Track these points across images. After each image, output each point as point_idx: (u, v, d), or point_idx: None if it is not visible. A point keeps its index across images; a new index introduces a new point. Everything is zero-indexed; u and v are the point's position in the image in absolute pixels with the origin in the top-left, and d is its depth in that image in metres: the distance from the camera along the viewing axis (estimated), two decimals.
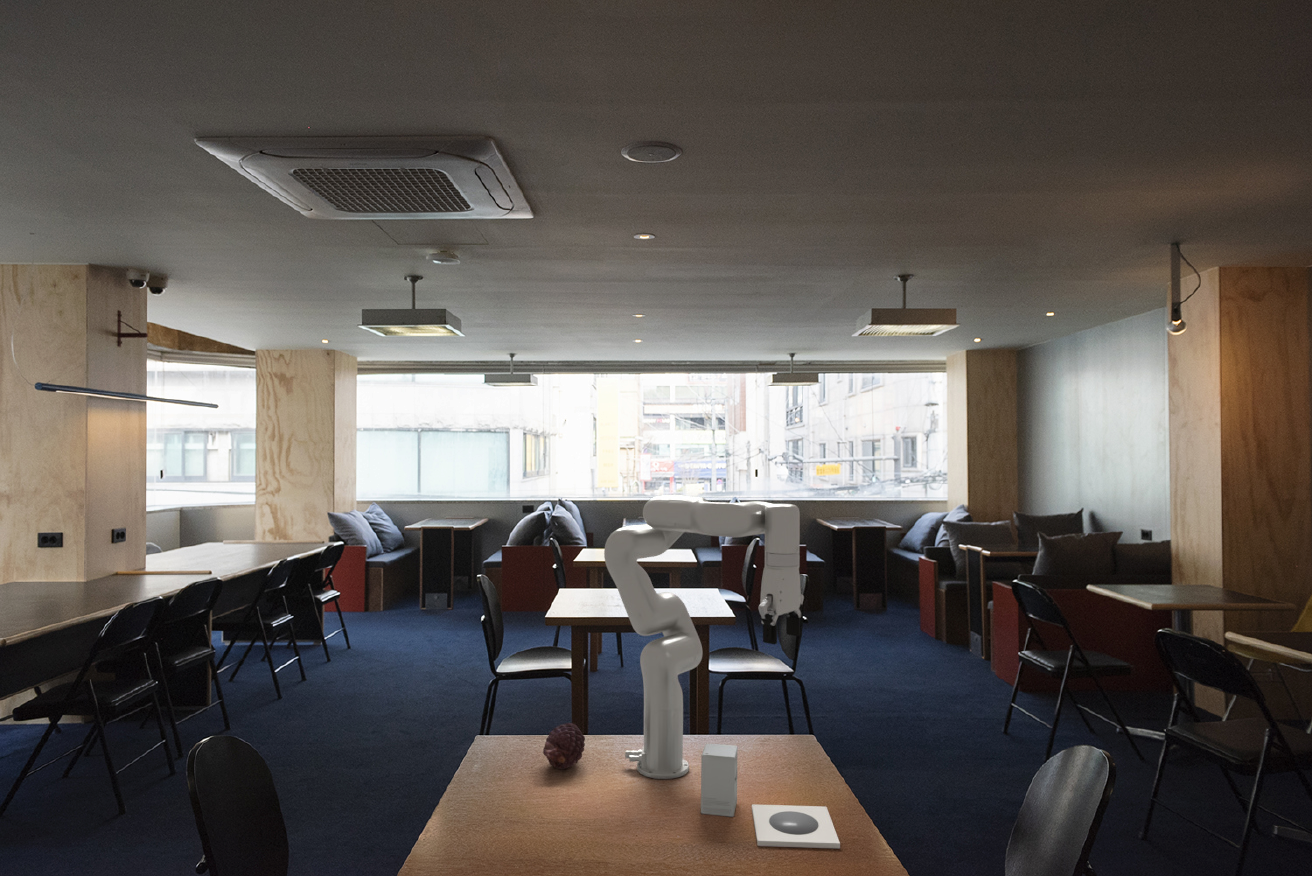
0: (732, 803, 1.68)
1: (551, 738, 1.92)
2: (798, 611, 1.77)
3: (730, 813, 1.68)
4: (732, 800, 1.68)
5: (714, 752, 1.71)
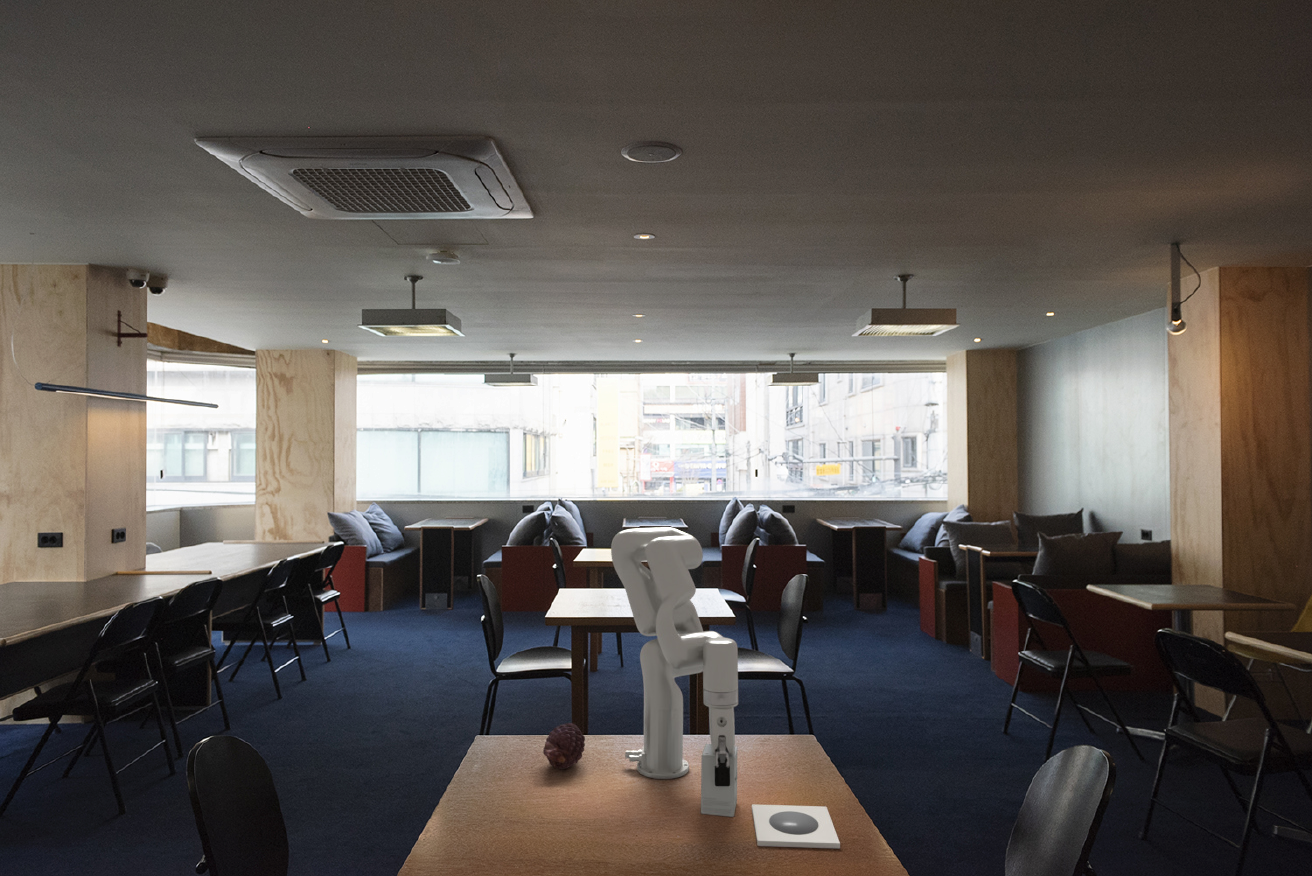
0: (732, 803, 1.68)
1: (551, 738, 1.92)
2: None
3: (730, 813, 1.68)
4: (732, 800, 1.68)
5: None
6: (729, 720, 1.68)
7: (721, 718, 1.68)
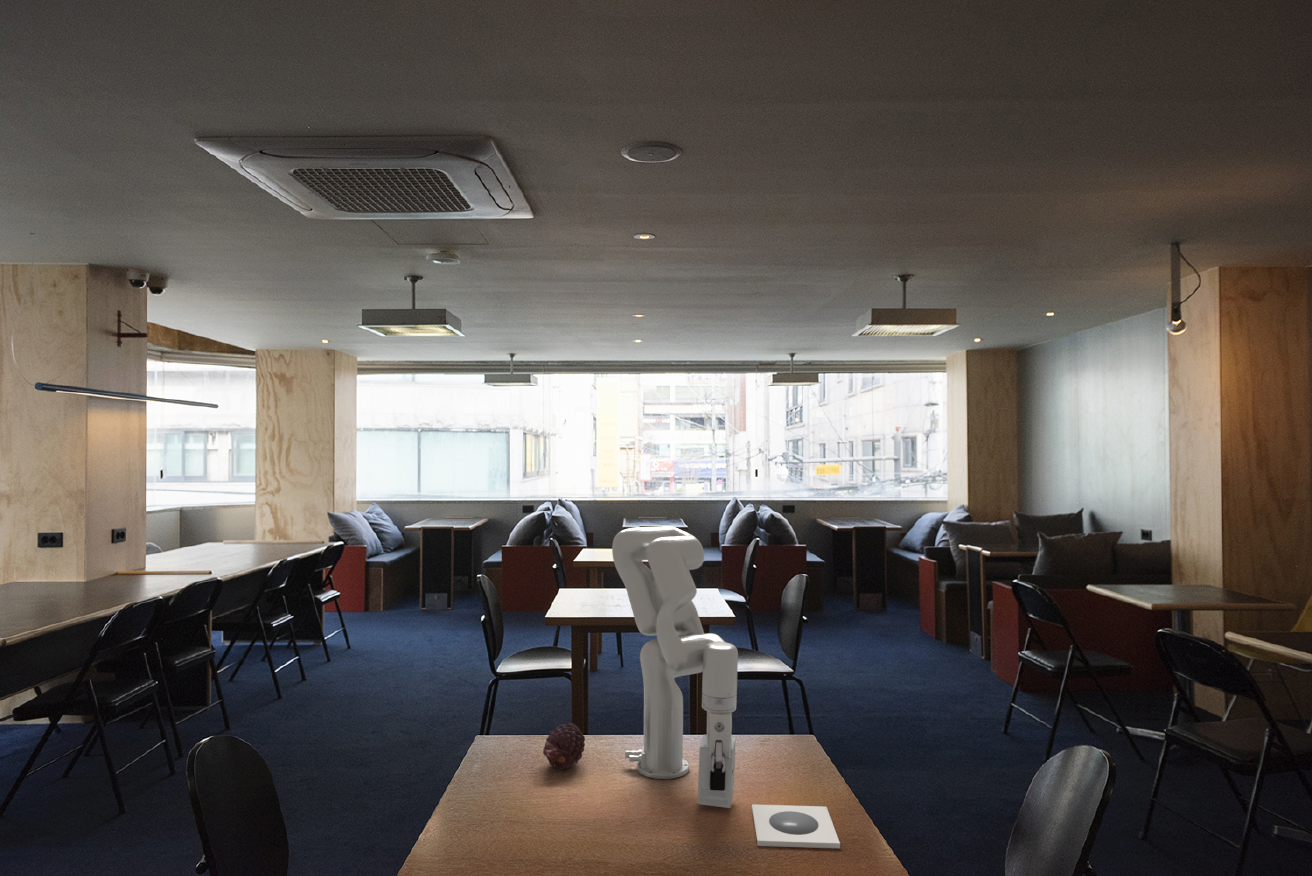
0: (729, 795, 1.69)
1: (551, 738, 1.92)
2: None
3: (727, 805, 1.69)
4: (729, 792, 1.69)
5: None
6: (727, 725, 1.68)
7: (719, 723, 1.69)
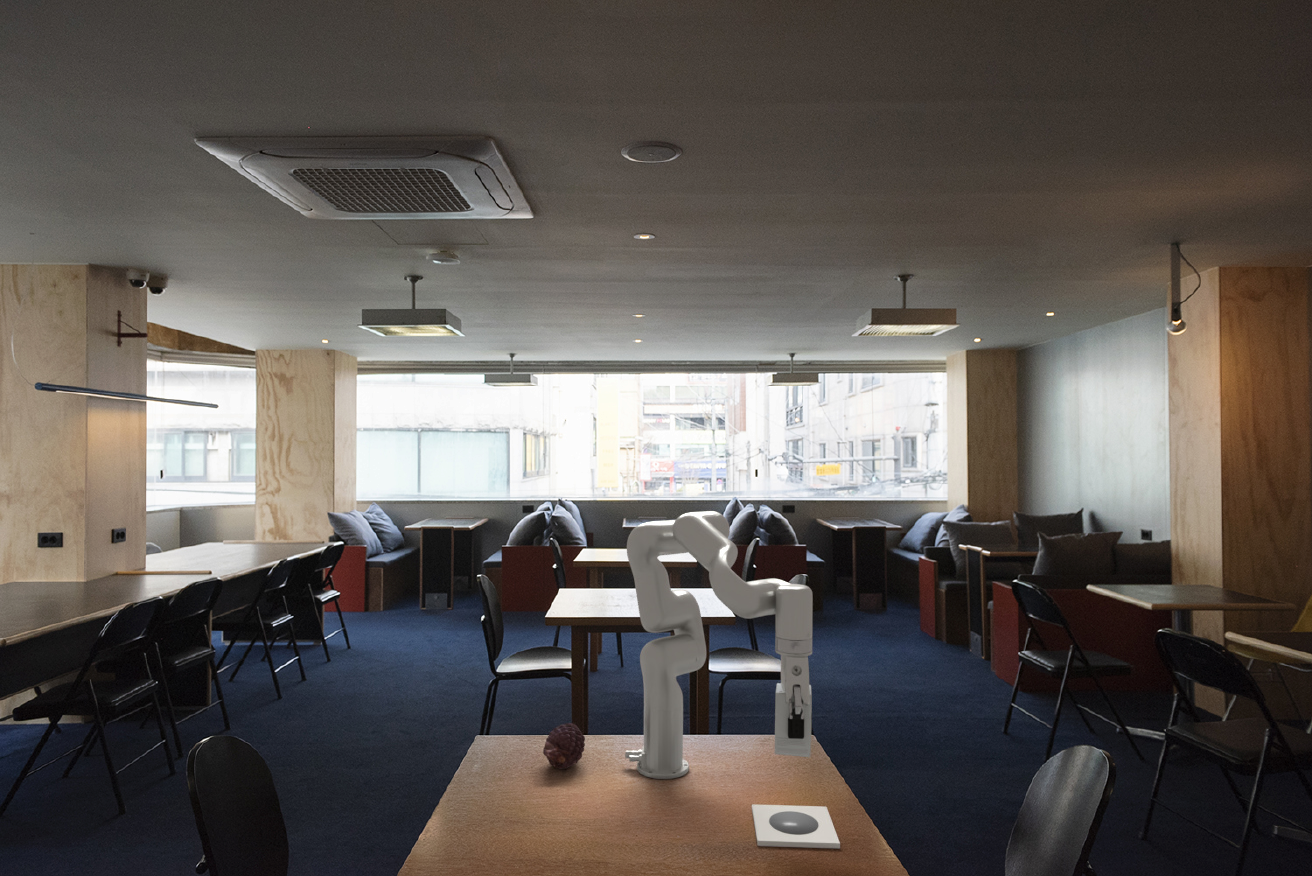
0: (808, 743, 1.60)
1: (551, 738, 1.92)
2: (789, 710, 1.60)
3: (806, 754, 1.60)
4: (808, 740, 1.60)
5: None
6: (804, 669, 1.59)
7: (796, 667, 1.60)
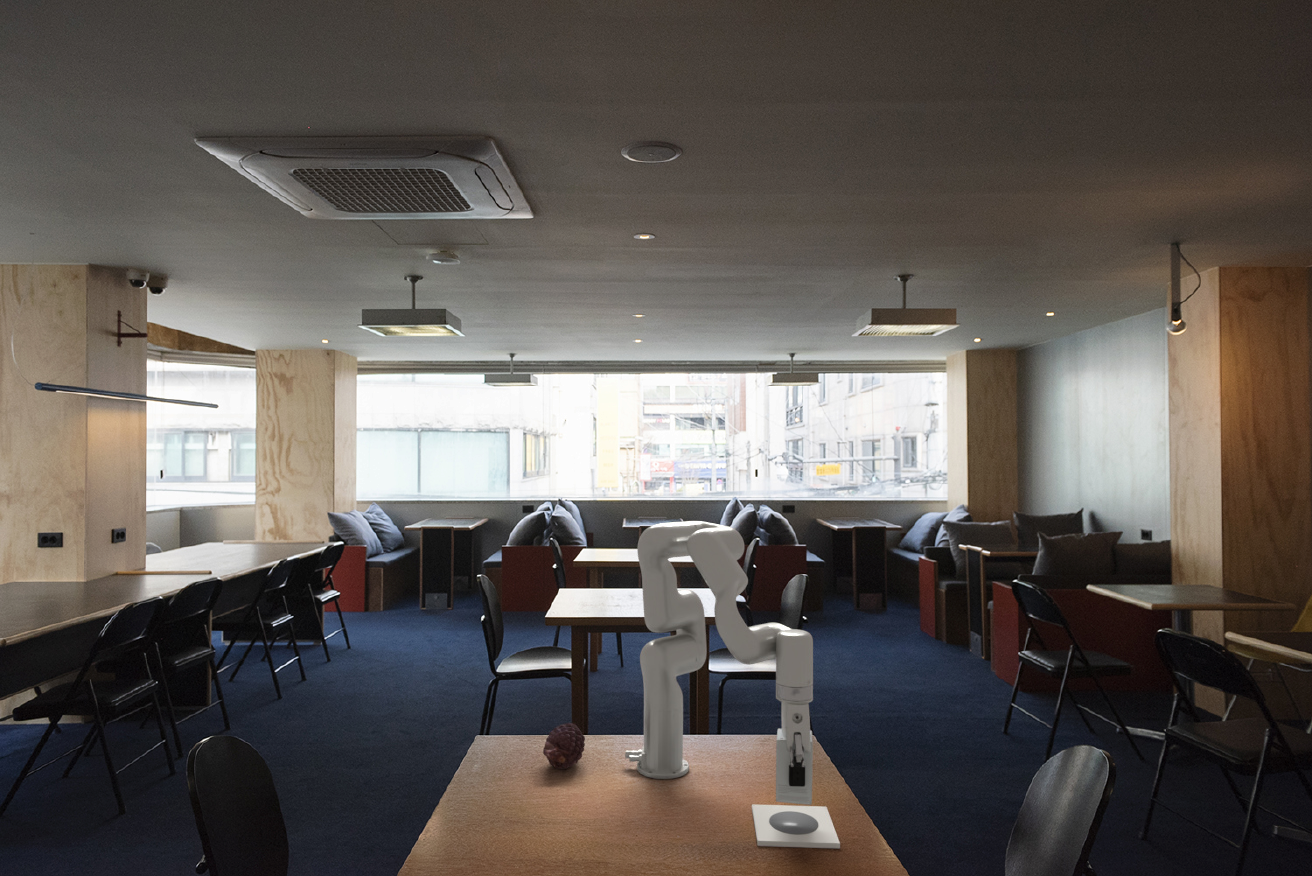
0: (810, 790, 1.60)
1: (551, 738, 1.92)
2: (790, 758, 1.60)
3: (807, 801, 1.60)
4: (810, 787, 1.60)
5: None
6: (805, 716, 1.59)
7: (796, 714, 1.60)
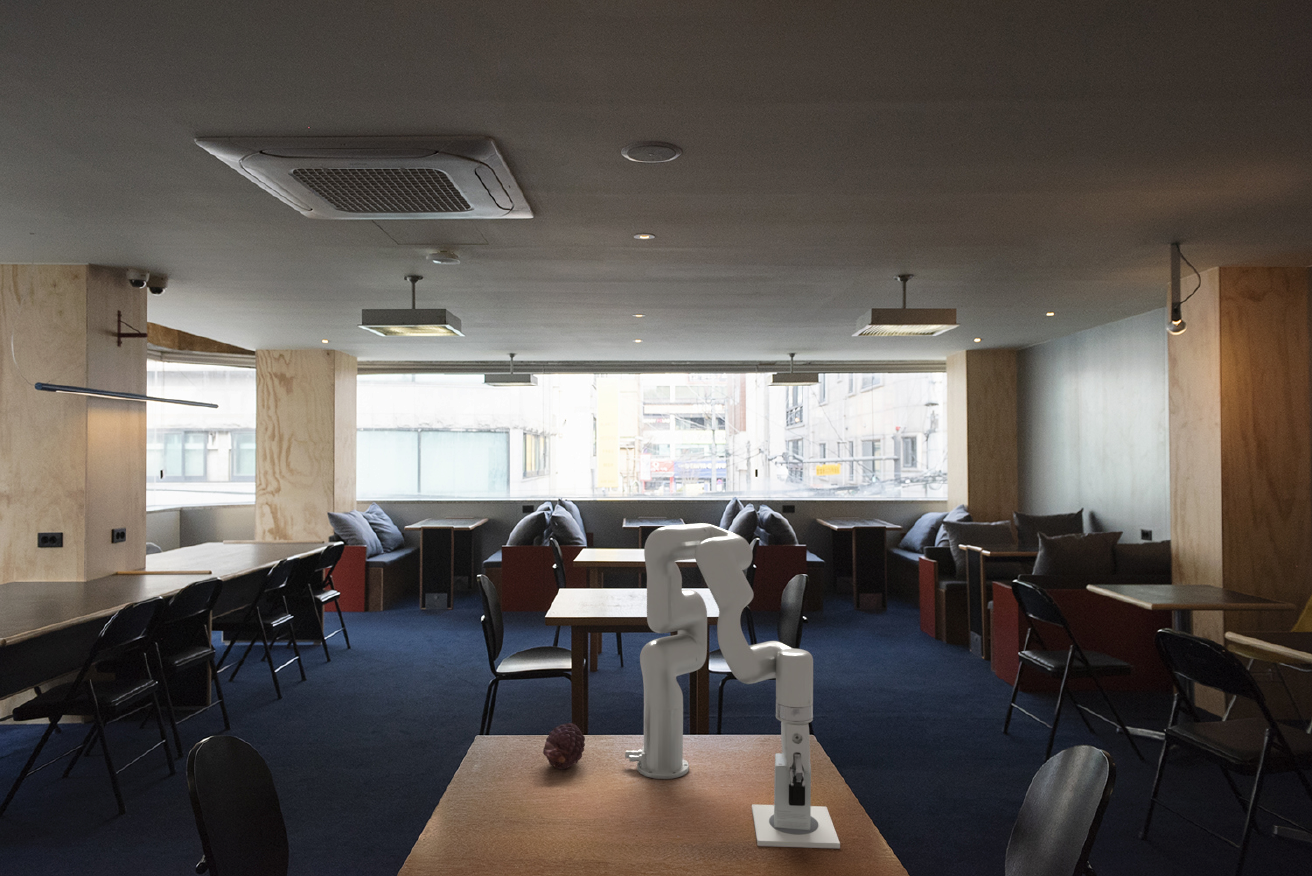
0: (808, 816, 1.60)
1: (551, 738, 1.92)
2: (790, 777, 1.59)
3: (806, 827, 1.60)
4: (808, 813, 1.60)
5: None
6: (805, 737, 1.59)
7: (796, 734, 1.60)
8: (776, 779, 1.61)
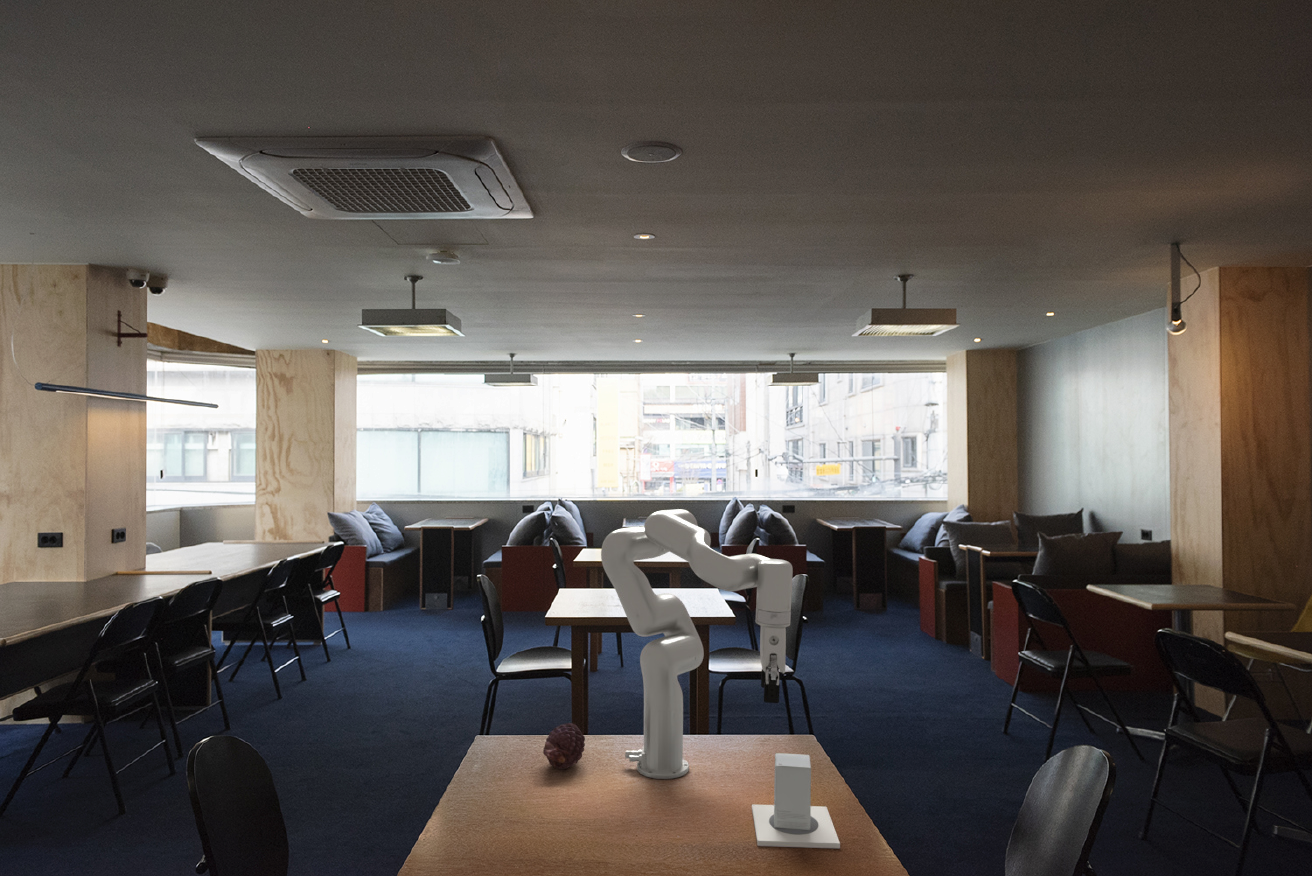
0: (808, 816, 1.60)
1: (551, 738, 1.92)
2: (765, 676, 1.69)
3: (806, 827, 1.60)
4: (808, 813, 1.60)
5: (787, 762, 1.63)
6: (781, 639, 1.69)
7: (773, 637, 1.69)
8: (776, 779, 1.61)
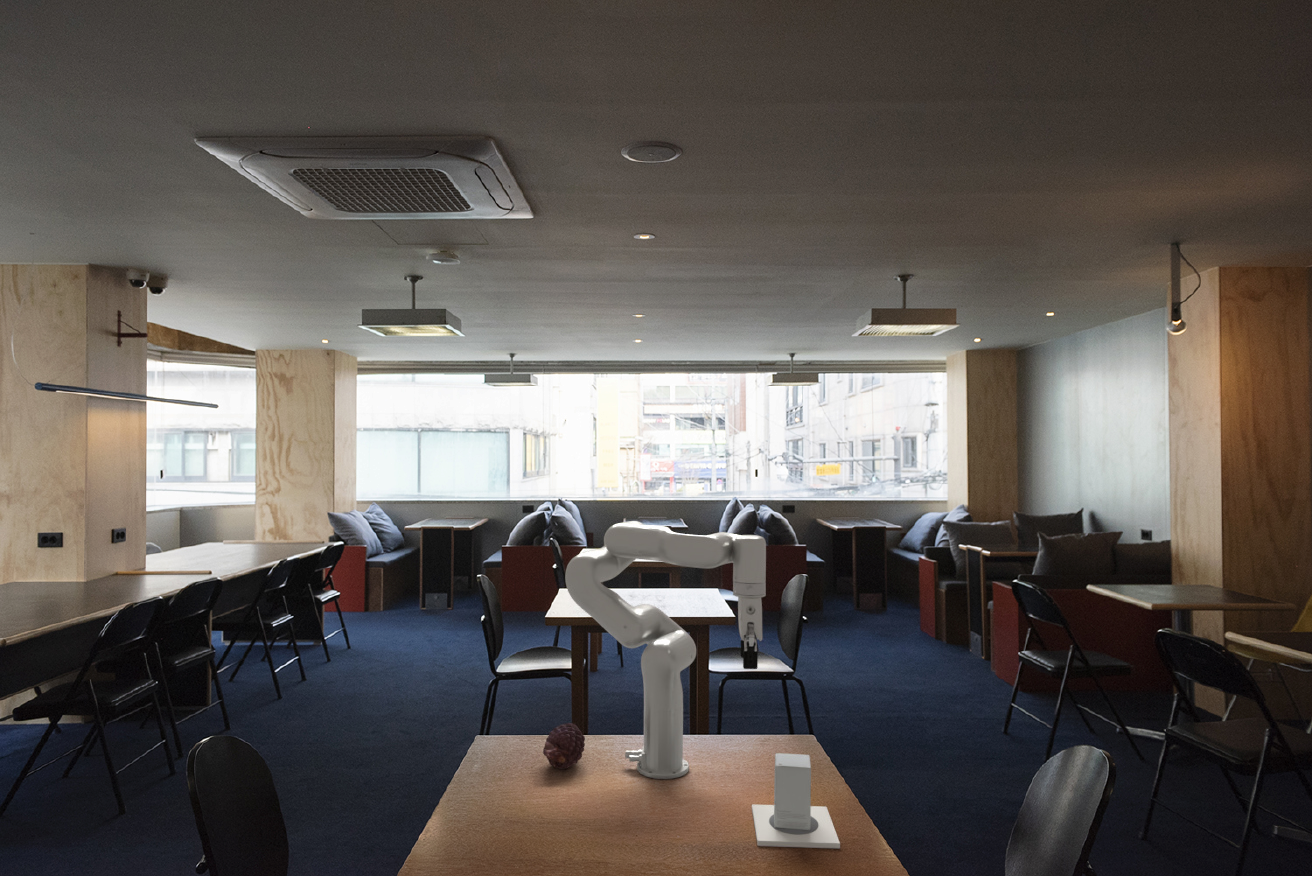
0: (808, 816, 1.60)
1: (551, 738, 1.92)
2: (744, 644, 1.80)
3: (806, 827, 1.60)
4: (808, 813, 1.60)
5: (787, 762, 1.63)
6: (757, 608, 1.80)
7: (750, 607, 1.81)
8: (776, 779, 1.61)
